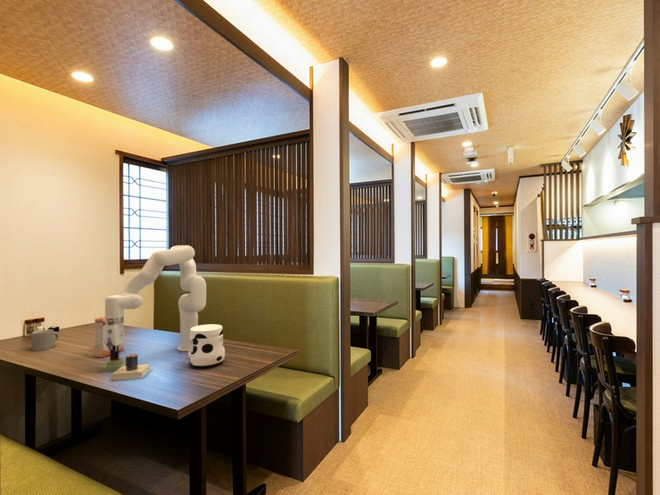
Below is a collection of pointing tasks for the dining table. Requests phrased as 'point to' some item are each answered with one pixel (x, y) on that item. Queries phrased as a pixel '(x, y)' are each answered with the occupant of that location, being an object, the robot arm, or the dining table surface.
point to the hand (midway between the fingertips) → (114, 359)
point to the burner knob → (131, 362)
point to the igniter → (112, 365)
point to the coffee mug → (43, 339)
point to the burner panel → (131, 373)
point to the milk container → (206, 345)
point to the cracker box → (102, 338)
